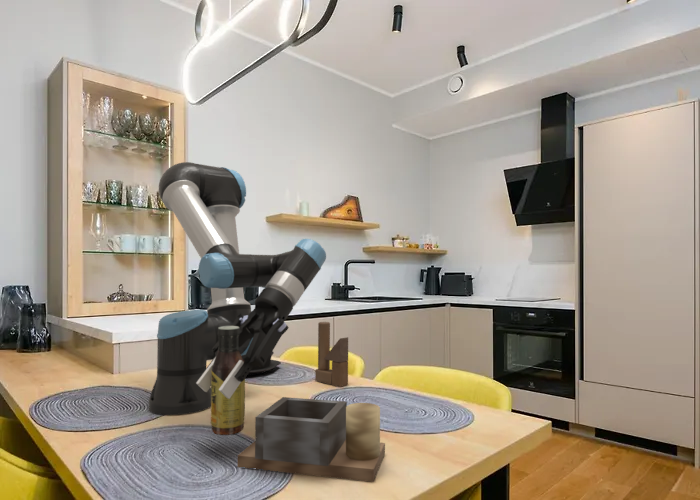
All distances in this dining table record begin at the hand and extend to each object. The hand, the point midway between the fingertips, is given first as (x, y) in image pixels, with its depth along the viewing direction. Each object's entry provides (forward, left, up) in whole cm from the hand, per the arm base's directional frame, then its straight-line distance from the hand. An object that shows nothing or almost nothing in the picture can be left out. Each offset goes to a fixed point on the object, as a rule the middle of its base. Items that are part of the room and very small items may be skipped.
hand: (212, 390), depth 88 cm
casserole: (-24, +67, -12) cm, 72 cm away
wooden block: (+7, +59, -12) cm, 60 cm away
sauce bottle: (+1, +3, -9) cm, 9 cm away
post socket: (+19, +3, -12) cm, 22 cm away
